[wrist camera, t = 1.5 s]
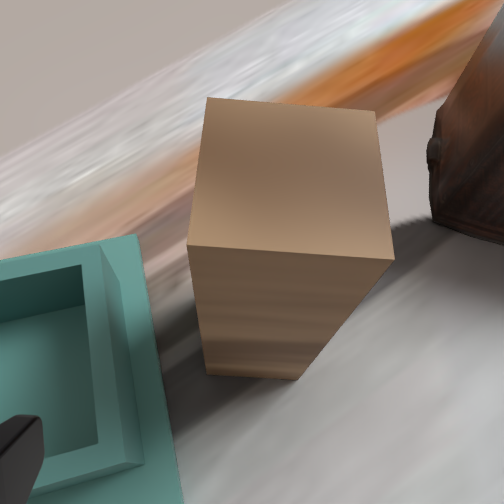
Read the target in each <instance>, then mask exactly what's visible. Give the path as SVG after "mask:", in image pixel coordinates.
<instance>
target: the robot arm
mask: <svg viewBox="0 0 504 504" xmlns="http://www.w3.org/2000/svg"><path fill="white" fill-rule="evenodd" d="M44 455H45V449H44V437H43V425H42V420H41V418H40V417H39V416H37V415H24V414H19V415H15V416H13V417H11V418H9V419H7V420H6V421H4V422H2V423H1V424H0V504H26V503H27V501H28V498H29V496H30V493H31V491H32V489H33V486H34V484H35V481H36V479H37V477H38V474H39V472H40V469H41V467H42V464H43V461H44Z"/></svg>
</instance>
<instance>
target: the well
mask: <svg viewBox="0 0 504 504" xmlns="http://www.w3.org/2000/svg"><path fill="white" fill-rule="evenodd" d="M19 414H24V415H37V416H39V417H40V418H41V420H42V425H43V437H44V449H45V455H44V461H43V464H42V467H41V469H40V472H39V474H38V477H37V479H36V481H35V484H34V486H33V489H32V491H31V493H30V496H29V498H28V501H27V503H26V504H184V501H183V495H182V489H181V483H180V478H179V472H178V466H177V460H176V454H175V448H174V443H173V437H172V431H171V425H170V419H169V413H168V408H167V402H166V396H165V390H164V384H163V378H162V373H161V367H160V361H159V355H158V349H157V343H156V338H155V332H154V326H153V320H152V314H151V308H150V303H149V297H148V291H147V285H146V279H145V273H144V268H143V262H142V256H141V250H140V244H139V241H138V238H137V235H136V234H132V235H126V236H121V237H116V238H111V239H106V240H101V241H96V242H91V243H85V244H80V245H75V246H70V247H65V248H60V249H55V250H50V251H44V252H39V253H34V254H29V255H24V256H19V257H14V258H8V259H3V260H0V424H1V423H2V422H4V421H6V420H7V419H9V418H11V417H13V416H15V415H19Z"/></svg>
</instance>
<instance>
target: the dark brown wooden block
mask: <svg viewBox="0 0 504 504" xmlns="http://www.w3.org/2000/svg"><path fill="white" fill-rule="evenodd" d="M426 152H427V164H428V170H429V173H430V174H429V201H430V207H431V213H432V219H433V222H436V223H439V224H441V225H444V226H446V227H449V228H451V229H454V230H456V231H459V232H461V233H464V234H466V235H469V236H472V237H476V238H479V239H483V240H487V241H491V242H494V243H498V244H502V245H504V4H503V6H502V7H501V9H500V11H499V12H498V14H497V16H496V17H495V19H494V21H493V22H492V24H491V26H490V27H489V29H488V31H487V32H486V34H485V36H484V37H483V39H482V41H481V42H480V44H479V46H478V47H477V49H476V51H475V53H474V54H473V56H472V58H471V59H470V61H469V63H468V64H467V66H466V68H465V69H464V71H463V73H462V74H461V76H460V78H459V79H458V81H457V83H456V84H455V86H454V88H453V89H452V91H451V92H450V94H449V96H448V97H447V99H446V101H445V102H444V104H443V105H442V106H441V107H440V108H439V109H438V110H437V112H436V118H435V123H434V129H433V135H432V138H430V140H429V142H428V145H427V150H426Z"/></svg>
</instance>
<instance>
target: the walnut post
mask: <svg viewBox="0 0 504 504" xmlns="http://www.w3.org/2000/svg"><path fill="white" fill-rule="evenodd" d="M187 251H188V257H189V264H190V270H191V277H192V283H193V290H194V296H195V303H196V309H197V316H198V322H199V329H200V335H201V341H202V348H203V354H204V361H205V367H206V374H207V375H222V376H239V377H255V378H272V379H289V380H298V379H299V378H300V377H301V375H302V374H303V373H304V372H305V370H306V369H307V368H308V367H309V365H310V364H311V363H312V362H313V360H314V359H315V358H316V357H317V356H318V354H319V353H320V352H321V351H322V349H323V348H324V347H325V346H326V344H327V343H328V342H329V341H330V339H331V338H332V337H333V336H334V334H335V333H336V332H337V331H338V329H339V328H340V327H341V326H342V325H343V323H344V322H345V321H346V320H347V318H348V317H349V316H350V315H351V313H352V312H353V311H354V310H355V308H356V307H357V306H358V305H359V303H360V302H361V301H362V300H363V298H364V297H365V296H366V295H367V294H368V292H369V291H370V290H371V289H372V287H373V286H374V285H375V284H376V282H377V281H378V280H379V279H380V277H381V276H382V275H383V274H384V272H385V271H386V270H387V269H388V267H389V266H390V265H391V264H392V263H393V261H394V260H395V257H394V250H393V243H392V235H391V228H390V220H389V213H388V206H387V198H386V191H385V184H384V176H383V169H382V162H381V154H380V147H379V140H378V132H377V125H376V117H375V111H365V110H354V109H342V108H330V107H318V106H306V105H294V104H282V103H270V102H258V101H246V100H234V99H222V98H210V97H207V102H206V109H205V117H204V124H203V131H202V138H201V145H200V152H199V159H198V167H197V174H196V181H195V188H194V195H193V202H192V210H191V217H190V224H189V231H188V238H187Z"/></svg>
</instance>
